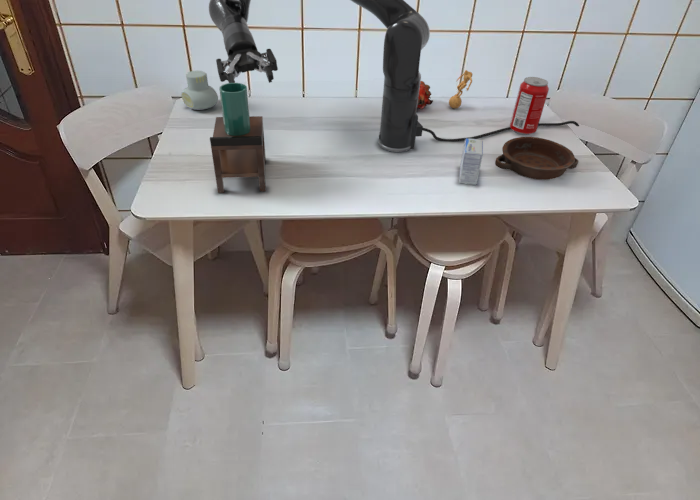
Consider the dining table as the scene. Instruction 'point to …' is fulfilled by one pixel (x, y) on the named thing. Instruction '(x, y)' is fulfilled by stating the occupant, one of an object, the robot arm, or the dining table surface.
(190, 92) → the air freshener
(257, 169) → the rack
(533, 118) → the soda can
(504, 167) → the dish
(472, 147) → the medicine box
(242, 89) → the tumbler
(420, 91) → the dragon fruit
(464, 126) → the dining table surface
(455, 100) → the figurine
